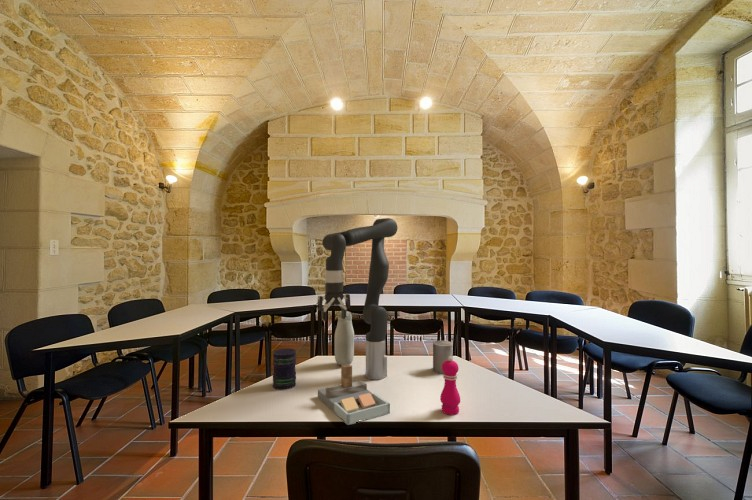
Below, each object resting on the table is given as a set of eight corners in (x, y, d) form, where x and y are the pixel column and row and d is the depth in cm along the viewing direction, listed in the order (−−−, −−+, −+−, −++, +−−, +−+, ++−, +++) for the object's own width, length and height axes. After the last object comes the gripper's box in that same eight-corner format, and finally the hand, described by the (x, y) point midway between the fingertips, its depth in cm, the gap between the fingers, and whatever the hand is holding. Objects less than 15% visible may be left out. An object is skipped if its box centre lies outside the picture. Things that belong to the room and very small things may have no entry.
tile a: (369, 395, 133) (370, 392, 133) (374, 406, 130) (375, 403, 129) (357, 398, 131) (358, 395, 130) (363, 409, 127) (364, 406, 126)
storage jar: (278, 391, 145) (279, 356, 145) (268, 385, 152) (269, 351, 152) (300, 385, 151) (300, 351, 151) (289, 379, 159) (289, 347, 159)
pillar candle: (432, 366, 177) (432, 337, 177) (452, 367, 176) (452, 338, 176) (433, 373, 167) (433, 342, 167) (453, 374, 166) (453, 343, 166)
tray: (374, 402, 135) (374, 393, 135) (389, 413, 125) (389, 403, 125) (334, 412, 126) (334, 402, 126) (347, 425, 116) (347, 414, 116)
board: (355, 388, 148) (355, 381, 148) (374, 402, 135) (374, 394, 135) (317, 396, 139) (317, 389, 139) (334, 412, 126) (334, 404, 126)
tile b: (352, 399, 130) (353, 396, 129) (357, 410, 126) (358, 407, 125) (340, 402, 127) (341, 399, 126) (345, 413, 123) (346, 411, 123)
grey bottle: (332, 367, 176) (332, 312, 176) (338, 361, 186) (338, 309, 186) (351, 368, 174) (351, 312, 174) (355, 362, 184) (356, 309, 185)
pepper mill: (456, 417, 122) (456, 360, 122) (437, 412, 126) (437, 357, 126) (463, 409, 128) (462, 355, 128) (444, 405, 132) (444, 352, 132)
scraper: (361, 386, 142) (361, 361, 142) (366, 390, 139) (366, 363, 139) (325, 395, 134) (325, 367, 134) (330, 398, 131) (330, 370, 131)
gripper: (345, 279, 153) (345, 316, 153) (314, 281, 145) (314, 319, 145) (353, 281, 146) (353, 319, 146) (321, 282, 139) (321, 323, 139)
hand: (334, 319), depth 146 cm, fingers open, 8 cm apart
